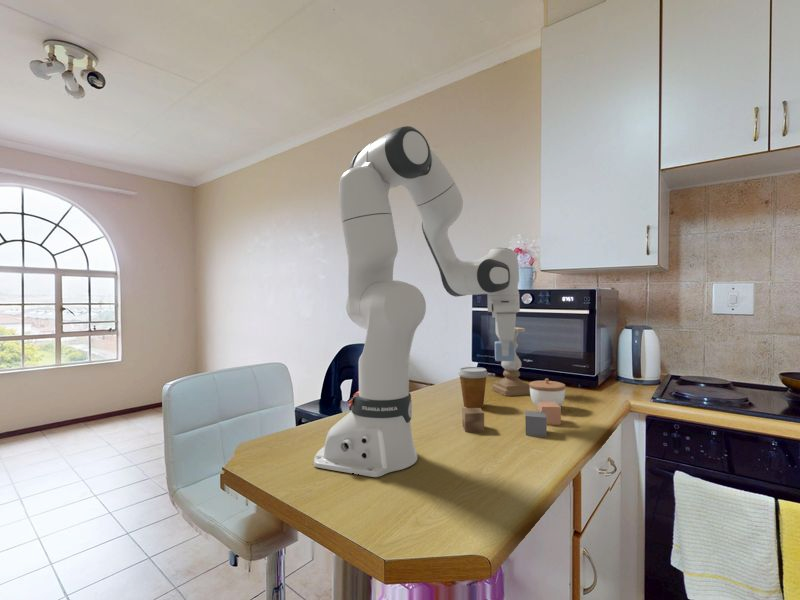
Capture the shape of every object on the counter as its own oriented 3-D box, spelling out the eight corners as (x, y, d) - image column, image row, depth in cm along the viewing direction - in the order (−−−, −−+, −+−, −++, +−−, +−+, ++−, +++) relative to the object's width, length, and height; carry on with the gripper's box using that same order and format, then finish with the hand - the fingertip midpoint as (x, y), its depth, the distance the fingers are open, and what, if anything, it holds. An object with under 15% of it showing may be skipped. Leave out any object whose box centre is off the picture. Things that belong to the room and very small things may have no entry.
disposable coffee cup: (478, 400, 133) (478, 365, 133) (494, 408, 124) (493, 370, 124) (453, 403, 130) (453, 367, 130) (467, 411, 121) (466, 372, 121)
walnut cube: (465, 432, 102) (464, 413, 102) (462, 426, 107) (462, 408, 107) (484, 432, 102) (484, 413, 102) (480, 426, 107) (480, 407, 107)
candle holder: (505, 396, 138) (504, 329, 139) (491, 389, 149) (490, 327, 149) (533, 394, 141) (532, 328, 141) (517, 387, 152) (516, 326, 152)
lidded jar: (572, 409, 121) (572, 379, 121) (552, 415, 115) (551, 383, 115) (543, 402, 130) (542, 374, 130) (522, 407, 124) (522, 378, 124)
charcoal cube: (525, 435, 99) (525, 415, 99) (525, 429, 104) (525, 410, 104) (546, 437, 97) (546, 417, 97) (545, 431, 102) (545, 412, 102)
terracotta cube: (542, 424, 107) (541, 406, 107) (537, 419, 112) (537, 402, 112) (561, 425, 107) (560, 406, 107) (555, 419, 112) (555, 402, 112)
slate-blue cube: (495, 361, 109) (495, 343, 109) (494, 358, 114) (494, 341, 114) (514, 361, 108) (514, 343, 108) (512, 358, 113) (512, 341, 113)
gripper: (490, 305, 122) (491, 349, 121) (493, 306, 101) (494, 359, 101) (511, 305, 120) (512, 349, 120) (518, 306, 100) (519, 359, 100)
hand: (504, 354), depth 111 cm, fingers closed on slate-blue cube, 5 cm apart
